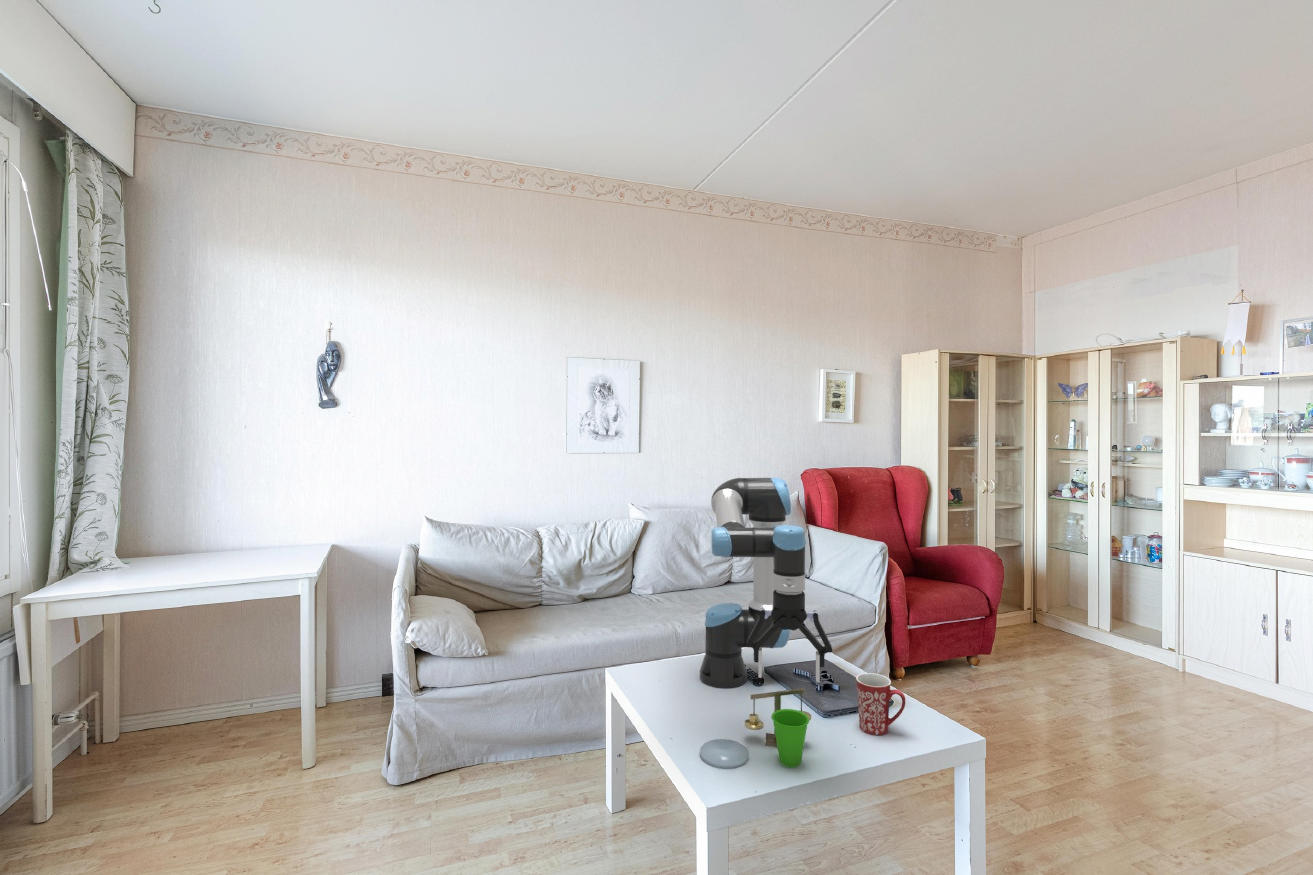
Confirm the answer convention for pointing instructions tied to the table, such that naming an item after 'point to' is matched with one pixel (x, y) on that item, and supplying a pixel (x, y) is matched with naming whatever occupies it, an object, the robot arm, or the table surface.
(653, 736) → the table surface
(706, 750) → the dish
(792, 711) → the cup
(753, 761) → the table surface
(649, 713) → the table surface
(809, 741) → the table surface
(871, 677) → the mug
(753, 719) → the balance
